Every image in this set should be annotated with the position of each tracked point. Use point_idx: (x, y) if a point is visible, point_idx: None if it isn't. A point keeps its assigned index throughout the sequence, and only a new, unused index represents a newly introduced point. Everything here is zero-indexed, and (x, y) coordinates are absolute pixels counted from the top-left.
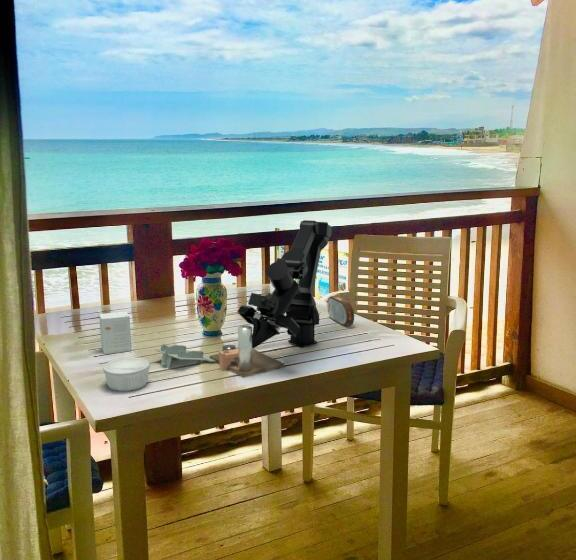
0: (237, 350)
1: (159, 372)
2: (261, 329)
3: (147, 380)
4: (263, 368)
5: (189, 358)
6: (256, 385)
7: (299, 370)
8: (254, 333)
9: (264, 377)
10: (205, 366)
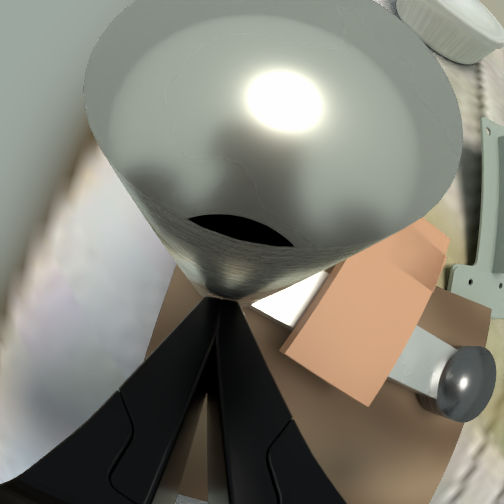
0: (382, 329)
1: (472, 111)
2: (90, 485)
3: (421, 35)
4: (150, 341)
5: (489, 175)
6: (89, 168)
7: (37, 445)
8: (247, 422)
9: (105, 274)
10: (441, 229)
